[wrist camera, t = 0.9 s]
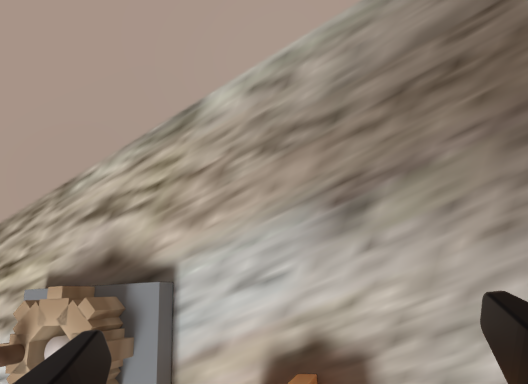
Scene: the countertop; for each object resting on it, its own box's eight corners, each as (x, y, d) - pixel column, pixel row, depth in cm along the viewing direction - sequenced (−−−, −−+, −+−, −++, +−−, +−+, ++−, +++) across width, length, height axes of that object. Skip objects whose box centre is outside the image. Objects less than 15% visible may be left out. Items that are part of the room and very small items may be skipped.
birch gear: (130, 415, 20) (65, 446, 16) (30, 410, 22) (-51, 437, 18) (136, 284, 22) (79, 282, 18) (43, 289, 24) (-28, 289, 20)
